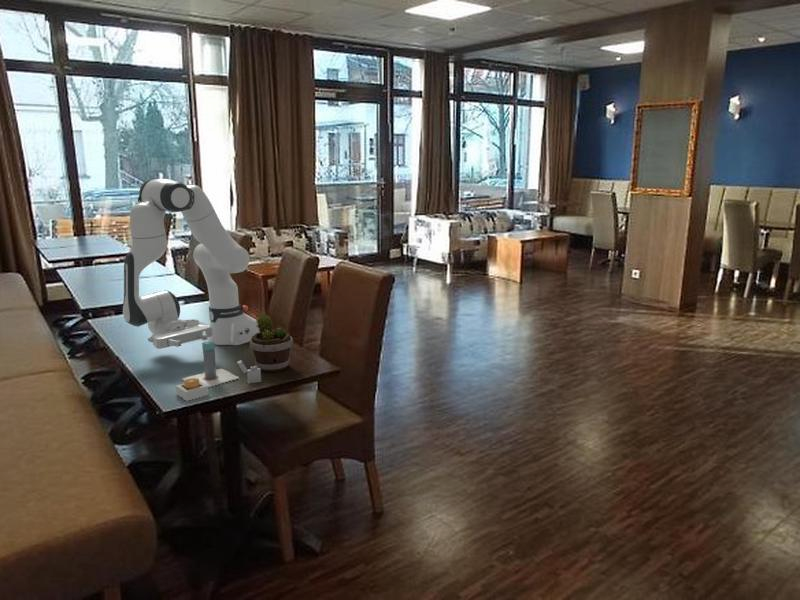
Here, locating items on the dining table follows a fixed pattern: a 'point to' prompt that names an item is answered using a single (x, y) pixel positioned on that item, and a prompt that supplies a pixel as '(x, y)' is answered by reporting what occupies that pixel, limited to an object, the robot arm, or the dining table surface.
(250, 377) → the lighter
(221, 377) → the paper pad
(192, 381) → the button
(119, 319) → the dining table surface
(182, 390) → the button box
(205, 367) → the grey teal bottle
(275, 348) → the flowerpot
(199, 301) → the dining table surface
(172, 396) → the dining table surface
